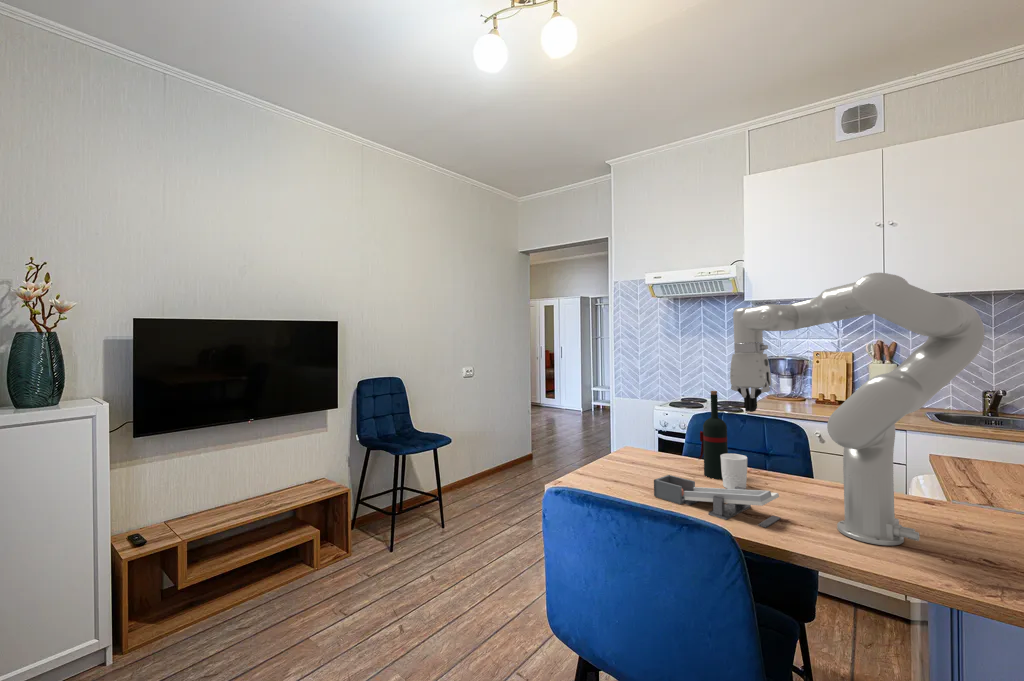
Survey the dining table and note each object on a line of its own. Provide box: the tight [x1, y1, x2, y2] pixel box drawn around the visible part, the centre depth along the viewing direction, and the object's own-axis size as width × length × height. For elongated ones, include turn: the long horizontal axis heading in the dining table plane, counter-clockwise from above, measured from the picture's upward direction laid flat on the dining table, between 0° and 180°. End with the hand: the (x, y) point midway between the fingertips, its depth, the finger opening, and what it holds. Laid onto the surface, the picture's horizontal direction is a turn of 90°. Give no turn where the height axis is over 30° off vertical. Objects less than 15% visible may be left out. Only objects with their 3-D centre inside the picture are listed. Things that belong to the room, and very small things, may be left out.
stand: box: [683, 486, 782, 529], centre depth 125 cm, size 23×14×5 cm, turn 37°
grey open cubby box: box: [653, 474, 696, 506], centre depth 136 cm, size 9×8×5 cm
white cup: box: [720, 453, 748, 490], centre depth 145 cm, size 8×8×10 cm
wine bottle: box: [698, 390, 729, 480], centre depth 158 cm, size 8×10×30 cm
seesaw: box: [683, 486, 780, 507], centre depth 125 cm, size 22×10×2 cm, turn 37°
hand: (750, 411), depth 131 cm, fingers closed
